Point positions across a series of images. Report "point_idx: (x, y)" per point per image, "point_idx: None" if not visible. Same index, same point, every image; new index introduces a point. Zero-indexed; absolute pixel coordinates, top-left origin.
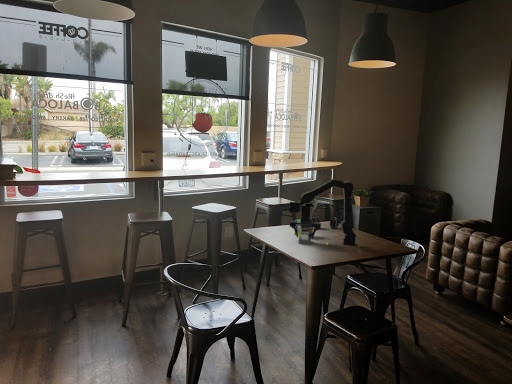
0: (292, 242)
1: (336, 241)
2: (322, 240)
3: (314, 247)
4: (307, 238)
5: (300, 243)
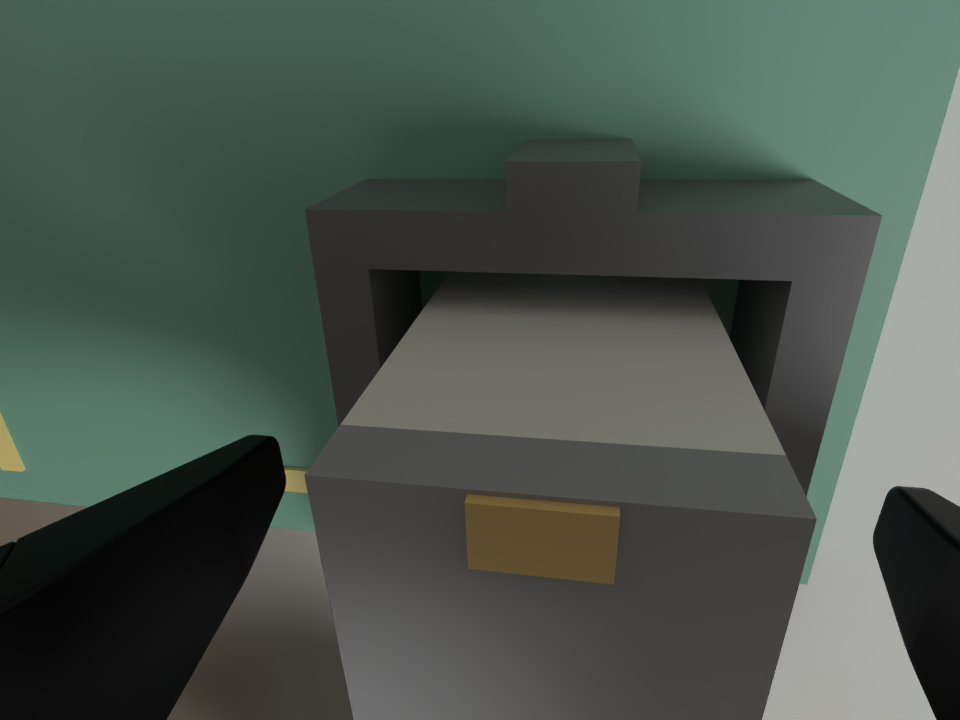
0: (948, 491)
1: None
2: (231, 684)
3: None
4: (420, 340)
5: (727, 180)
